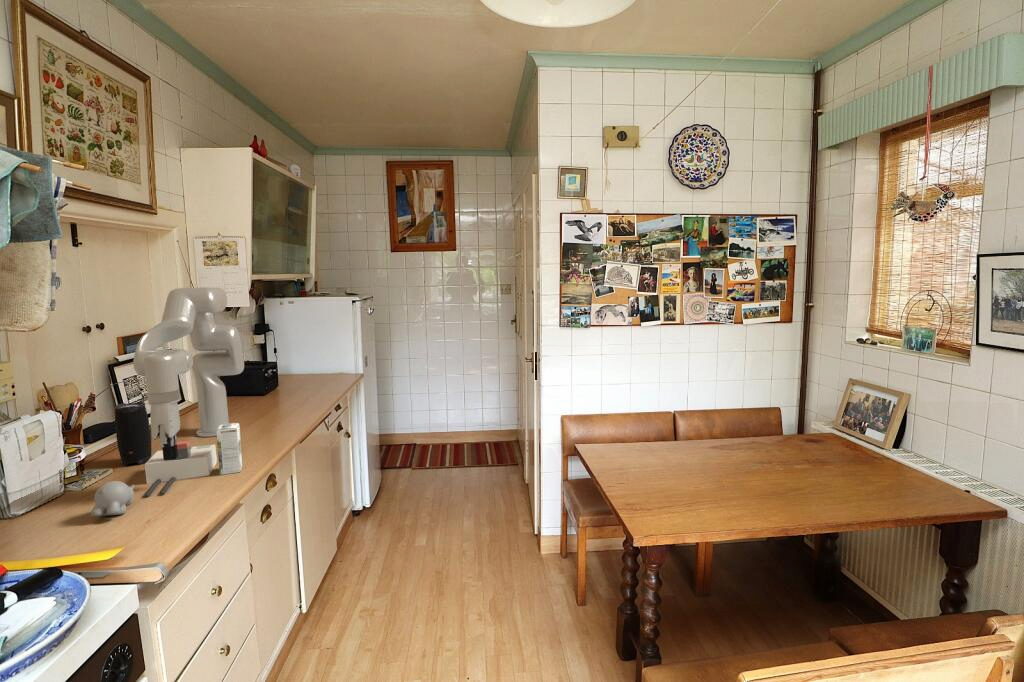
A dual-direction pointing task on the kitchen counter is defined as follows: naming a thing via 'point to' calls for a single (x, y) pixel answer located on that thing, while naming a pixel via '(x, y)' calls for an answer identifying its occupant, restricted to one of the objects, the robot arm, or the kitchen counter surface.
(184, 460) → the block
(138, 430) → the portable speaker
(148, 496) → the dressed cords
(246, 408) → the kitchen counter surface
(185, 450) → the handle
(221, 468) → the syrup box
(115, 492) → the toy rhinoceros
